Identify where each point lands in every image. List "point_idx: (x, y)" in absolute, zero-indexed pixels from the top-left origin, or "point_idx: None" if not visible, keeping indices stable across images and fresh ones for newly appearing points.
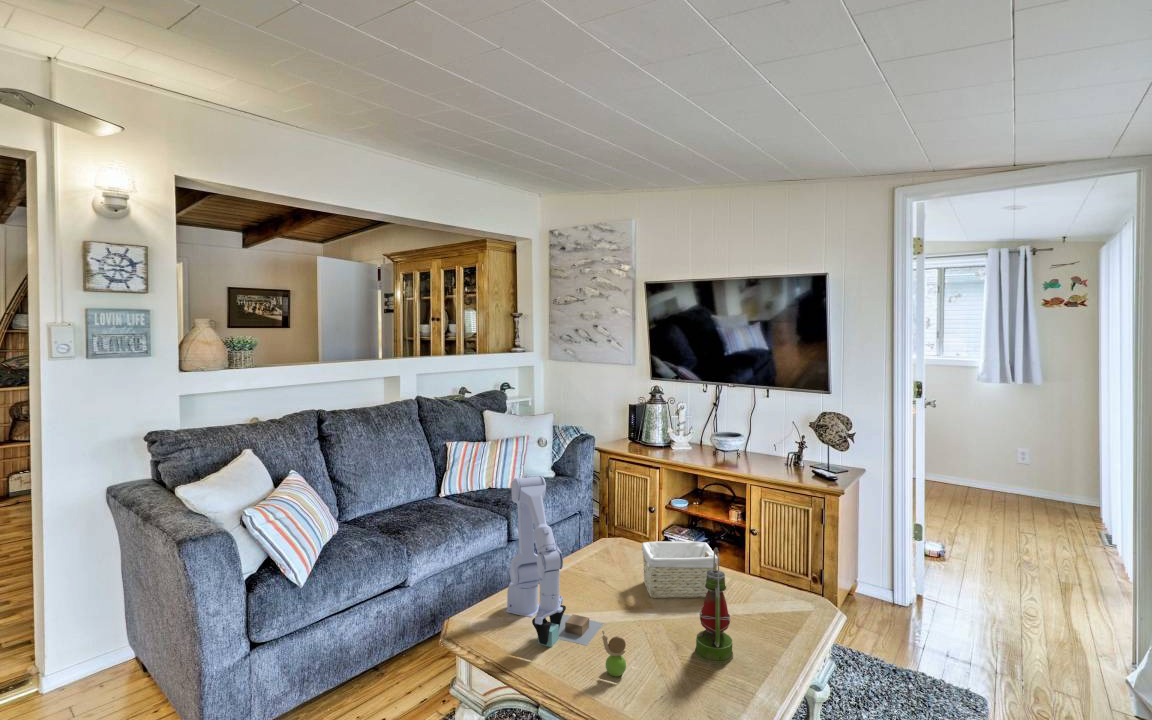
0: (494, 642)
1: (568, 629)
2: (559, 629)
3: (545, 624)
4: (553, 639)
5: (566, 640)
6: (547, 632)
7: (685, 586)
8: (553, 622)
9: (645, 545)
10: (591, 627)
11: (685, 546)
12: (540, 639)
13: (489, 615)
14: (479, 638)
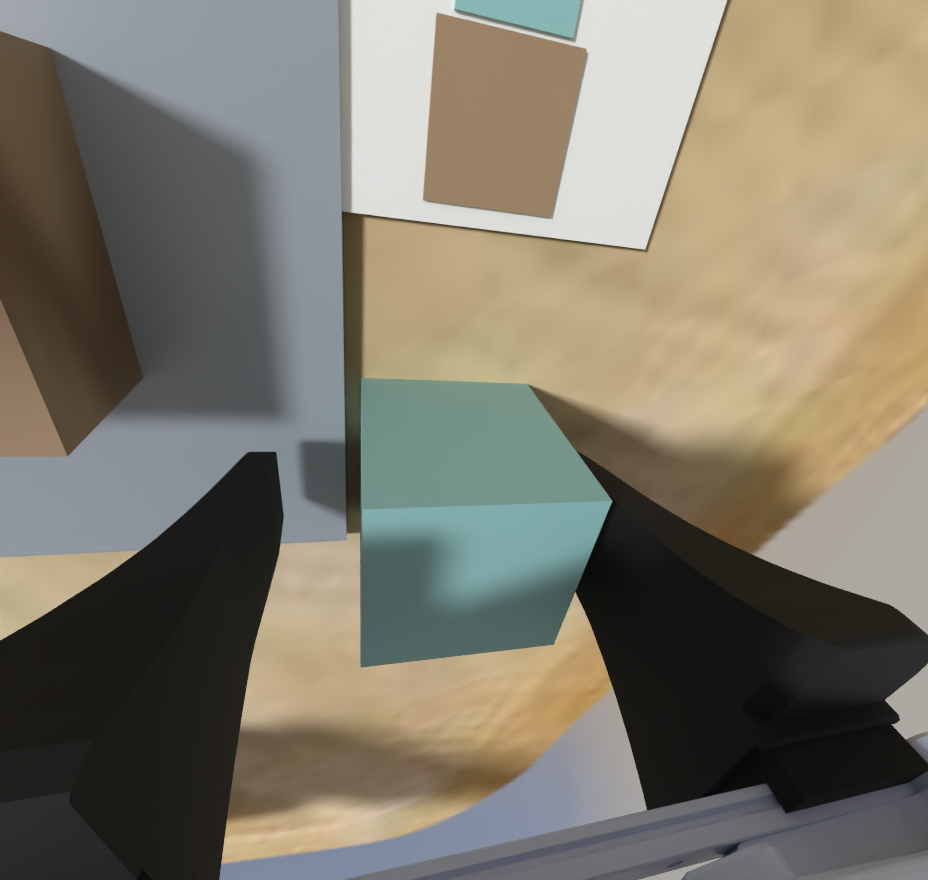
0: (530, 687)
1: (106, 349)
2: (135, 460)
3: (896, 684)
4: (514, 423)
5: (337, 286)
6: (714, 539)
7: None
8: (257, 584)
9: None
10: None
11: None
12: None
13: (270, 815)
14: (510, 736)
